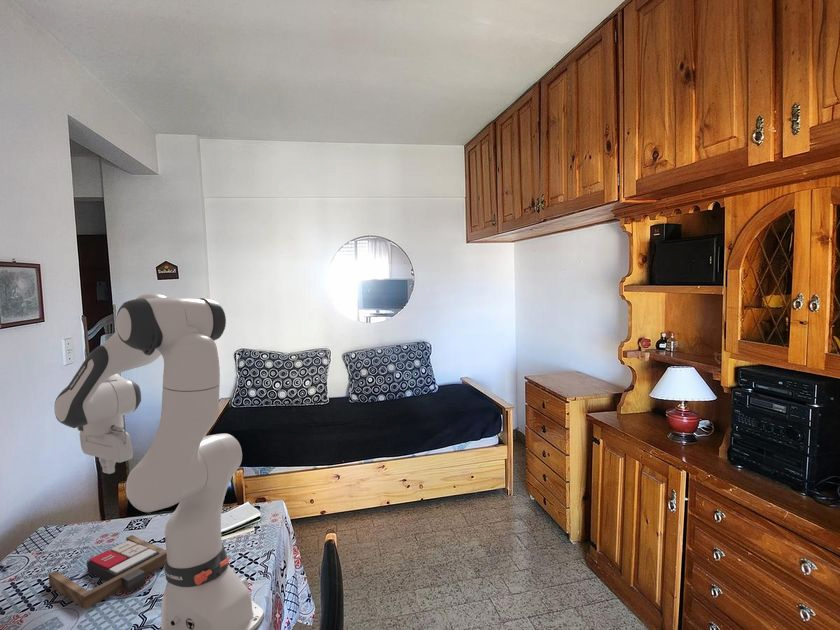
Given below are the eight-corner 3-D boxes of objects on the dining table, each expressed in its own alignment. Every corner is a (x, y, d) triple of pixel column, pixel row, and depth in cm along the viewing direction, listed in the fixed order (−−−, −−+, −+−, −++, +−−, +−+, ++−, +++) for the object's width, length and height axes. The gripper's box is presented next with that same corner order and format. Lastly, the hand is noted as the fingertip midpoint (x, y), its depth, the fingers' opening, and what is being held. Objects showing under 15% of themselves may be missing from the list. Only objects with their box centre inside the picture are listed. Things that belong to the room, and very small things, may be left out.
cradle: (176, 565, 121) (175, 554, 121) (92, 613, 104) (90, 601, 103) (132, 544, 132) (131, 534, 131) (49, 585, 114) (48, 573, 114)
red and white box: (129, 538, 129) (159, 549, 122) (130, 553, 129) (161, 565, 122) (85, 558, 120) (115, 572, 112) (87, 574, 120) (117, 589, 112)
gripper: (137, 424, 124) (141, 473, 125) (98, 417, 134) (102, 463, 135) (112, 431, 119) (117, 482, 120) (73, 423, 129) (78, 471, 130)
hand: (108, 472), depth 127 cm, fingers closed
